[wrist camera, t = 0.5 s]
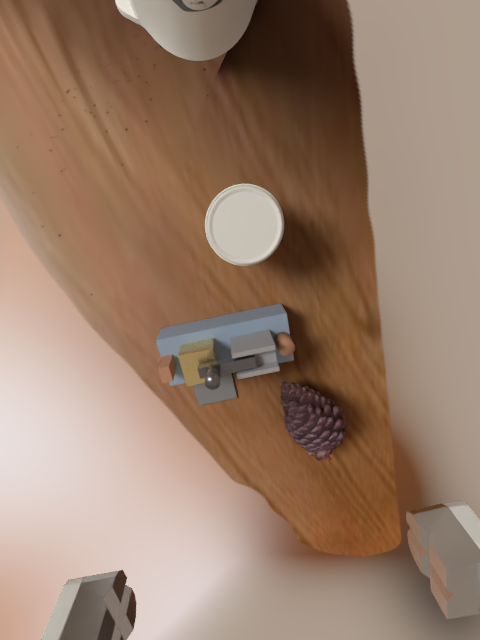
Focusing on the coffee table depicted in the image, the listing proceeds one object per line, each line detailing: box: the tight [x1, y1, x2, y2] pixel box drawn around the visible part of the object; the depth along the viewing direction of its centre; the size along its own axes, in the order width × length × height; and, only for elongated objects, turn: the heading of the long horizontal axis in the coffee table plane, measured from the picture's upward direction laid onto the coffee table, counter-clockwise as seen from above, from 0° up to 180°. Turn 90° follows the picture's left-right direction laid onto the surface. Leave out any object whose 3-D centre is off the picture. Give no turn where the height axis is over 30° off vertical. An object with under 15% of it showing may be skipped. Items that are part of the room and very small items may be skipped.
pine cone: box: [281, 381, 348, 460], centre depth 57 cm, size 18×10×10 cm, turn 33°
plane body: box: [156, 303, 295, 386], centre depth 51 cm, size 8×20×11 cm, turn 101°
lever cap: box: [178, 338, 221, 386], centre depth 50 cm, size 5×5×4 cm
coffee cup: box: [205, 184, 284, 266], centre depth 45 cm, size 9×9×12 cm
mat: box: [193, 373, 237, 406], centre depth 59 cm, size 6×7×1 cm
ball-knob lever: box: [198, 354, 257, 390], centre depth 45 cm, size 2×8×4 cm, turn 102°
